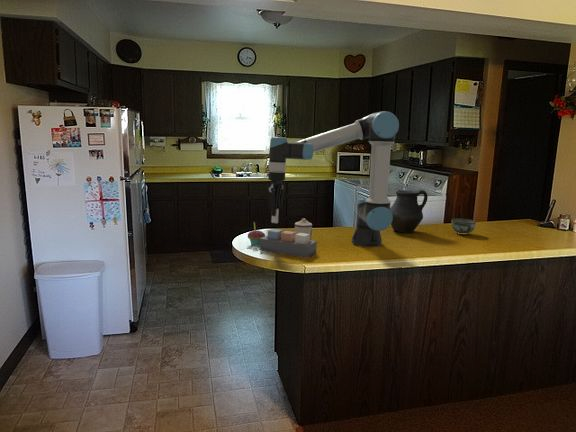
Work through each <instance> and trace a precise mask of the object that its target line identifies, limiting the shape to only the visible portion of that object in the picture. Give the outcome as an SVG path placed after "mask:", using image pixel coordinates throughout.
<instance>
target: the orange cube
mask: <svg viewBox="0 0 576 432" xmlns="http://www.w3.org/2000/svg"><path fill="white" fill-rule="evenodd" d="M295 235H296V232H295V231H290V230H284V231H282V233H281V241H286V242H293V241H295Z"/></svg>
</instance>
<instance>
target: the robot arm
mask: <svg viewBox="0 0 576 432" xmlns="http://www.w3.org/2000/svg"><path fill="white" fill-rule="evenodd" d="M399 128H400V123H399V119H398V117H397V116H396V115H395V114H394V113H392V112H391V111H385V110H383V111H377V112H373V113H371V114H368V115H367V116H364V117H362V118H360V119H356V120H355V121H354V123H351V124H348V125H345V126H340V127H339V128H336V129H335V128H334V129H331V130H328V131H326V132H322V133H319V134H316V135H313V136H310V137H307V138H304V139H300V140H298V141H292V142H290V141H288V138H287V137H285V136H284V137H283V136H272V137H271V138H270V142H269V161H268V162H269V163H268V171H269V172H268V177H267V178H268V180H269V181H271V182H270V187H267V189H266V190H267V195H268V203H269V204H268V206H269V209H271V219H270V220H271V221H270V223H272V224H278V223H279V213H280V212H279V211H280V210H279V209H281V208H282V204H283V197H284V191H285V185H283V182H285V180H286V170H287V159H289V160H303V161H308V160H310V161H311V160H312V158H313V156H314V153H317V152H321V151H322V150H327V149H330V148H332V147H333V148H334V147H336V146H339V145H342V144H346V143H349V142H351V141H355V140H365V139H368V143H369V144H370V146H371V153H370V166H369V167H370V170H369V188H368V197H367V198H359V199H358V200H357V204H356V206H357V207H356V208H357V209H356V221H355V222H356V225H355V230H354V232H353V233H352V237H351V244H352V245H355V246H359V247H363V248H364V247H366V248H376V247H377V248H378V247H380V246H383V245H382V244H383V243H382V242H383V240H382V235H381V231H385V230H387V229H388V228H389V227H390V226H391V223H392V219H393V217H392V213H391V211H390V208H391V201H390V200H389V198H388V194H389V193H388V192H389V183H390V182H389V181H390V180H389V178H390V168H391V167H390V164H391V153H392V152H391V150H392V145H394V144H395V142H396V141H395V139H396V134H397V133H398V131H399Z"/></svg>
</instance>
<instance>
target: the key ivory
mask: <svg viewBox="0 0 576 432" xmlns="http://www.w3.org/2000/svg"><path fill="white" fill-rule="evenodd" d="M295 243H299V244H305V245H307V244H309V243H310V234H306V233H298V234H296V235H295Z"/></svg>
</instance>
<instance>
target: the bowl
mask: <svg viewBox="0 0 576 432" xmlns="http://www.w3.org/2000/svg"><path fill="white" fill-rule="evenodd" d="M476 223H477V221H476V220H473V219H468V218H460V217H459V218H458V217H457V218H456V217H455V218H452V219H451V227H452V229H453V230H454V231H455V232H456V233H457V232H459V233H468V234H470V233H472V232H473V231H474V229H475V227H476Z"/></svg>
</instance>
